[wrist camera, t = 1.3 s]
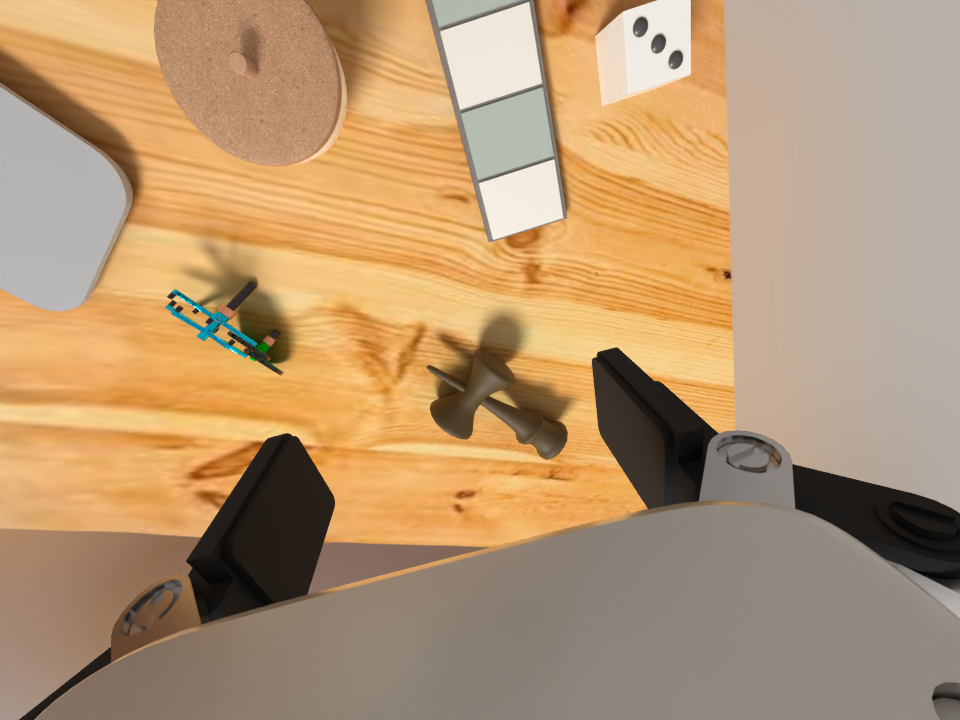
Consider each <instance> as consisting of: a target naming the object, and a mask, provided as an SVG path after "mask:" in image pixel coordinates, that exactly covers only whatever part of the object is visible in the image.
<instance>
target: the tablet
mask: <svg viewBox="0 0 960 720" xmlns="http://www.w3.org/2000/svg"><path fill="white" fill-rule="evenodd" d="M132 201H133V189H132V185H131V182H130V180H129V178H128V176H127V175H126V173H125V172H124V171H123V169H122V168H121V167H120V166H119V165H118V164H117V163H116V162H115V161H114V160H113V159H111V158H110V157H109V156H108V155H107V154H106V153H105V152H103V151H102V150H100V149H99V148H98V147H96V146H95V145H93V144H92V143H90V142H89V141H87V140H86V139H84V138H83V137H81V136H80V135H78V134H77V133H75V132H74V131H72V130H71V129H69V128H68V127H66V126H65V125H63V124H62V123H60V122H59V121H57V120H56V119H54V118H53V117H51V116H50V115H48V114H47V113H45V112H44V111H42V110H41V109H39V108H38V107H36V106H35V105H33V104H32V103H30V102H29V101H27V100H26V99H24V98H23V97H21V96H20V95H18V94H17V93H15V92H14V91H12V90H11V89H9V88H8V87H6V86H5V85H3V84H2V83H0V289H2V290H4V291H6V292H8V293H10V294H12V295H14V296H16V297H18V298H20V299H22V300H24V301H26V302H28V303H30V304H32V305H35V306H37V307H40V308H43V309H46V310H51V311H67V310H71V309H74V308H77V307H79V306H82V305H83V304H85V303H86V302H87V301H88V299H89V298H90V296H91V294H92V292H93V290H94V287H95V285H96V283H97V281H98V279H99V277H100V274H101V272H102V270H103V268H104V266H105V263H106V261H107V259H108V257H109V255H110V253H111V250H112V248H113V246H114V244H115V242H116V239H117V237H118V235H119V233H120V231H121V229H122V226H123V224H124V222H125V220H126V218H127V216H128V213H129V211H130V208H131V205H132Z"/></svg>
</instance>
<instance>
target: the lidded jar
mask: <svg viewBox="0 0 960 720" xmlns="http://www.w3.org/2000/svg"><path fill="white" fill-rule="evenodd" d="M154 35H155V44H156V51H157V55H158V60H159V64H160V67H161V70H162V73H163V75H164V78H165V81H166V83H167V85H168V87H169V89H170V91H171V93H172V95H173V97H174V99H175V101H176V102H177V104H178V105H179V107H180V108H181V110H182V111H183V113H184V114H185V115H186V117H187V118H188V119H189V120H190V121H191V122H192V124H193V125H194V126H195V127H196V128H197V129H198V130H199V131H200V132H201V133H202V134H203V135H204V136H205V137H206V138H207V139H209V140H210V141H211V142H213V143H214V144H215V145H217V146H218V147H219V148H221V149H222V150H224V151H226V152H227V153H229V154H231V155H233V156H235V157H237V158H240V159H242V160H244V161H247V162H251V163H255V164H259V165H266V166H288V165H295V164H301V163H304V162H308V161H311V160H313V159H315V158H317V157H319V156H321V155H322V154H323V153H325V152H326V151H327V150H328V149H329V148H330V147H331V146H332V145H333V144H334V143H335V141H336V139H337V138H338V136H339V134H340V132H341V130H342V127H343V125H344V121H345V117H346V112H347V86H346V81H345V76H344V72H343V69H342V66H341V63H340V60H339V57H338V54H337V52H336V50H335V48H334V46H333V43H332V41H331V39H330V38H329V36H328V34H327V32H326V30H325V28H324V26H323V24H322V23H321V21H320V19H319V18H318V16H317V15H316V13H315V11H314V10H313V9H312V7H311V6H310V5H309V4H308V2H307V1H306V0H158V3H157V8H156V13H155V26H154Z"/></svg>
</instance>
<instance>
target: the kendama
mask: <svg viewBox="0 0 960 720" xmlns="http://www.w3.org/2000/svg"><path fill="white" fill-rule="evenodd" d="M427 369H428V370H429V371H430V372H431V373H433V374H434V375H436V376H437V377H439V378H440V379H442V380H444V381H445V382H447V383H448V384H450V385H451V386H453V387H455V388H456V389H458V390H459V391H458V392H457V393H455V394H453V395H450V396H447V397H443V398H440V399H437V400H435V401H434V402H432V403H431V406H430V411H431V415H432V417H433V419H434V420H435V422H436V424H437V425H438V426H439V427H441V428H442V429H443V430H444V431H445V432H447V433H448V434H450V435H451V436H454V437H457V438H459V439H468V438H469V437H470V436H471V435H472V432H473V421H474V414H475V411H476V410H477V408H478V406H479V405H480V404H481V405H482V406H484V407H485V408H486V409H488V410H489V411H490V412H492V413H493V414H494V415H496V416H497V417H498V418H500V419H501V420H502V421H503V422H505V423H506V424H507V425H508V426H509V427H510V428H512V429H513V430H514V431H515V432H516V437H517V440H518V441H519V443H521V444H524V445H526V444H531V445H533V446H534V447H535V448H536V450H537V452H538V454H539V455H540V457H541V458H544V459H547V460H548V459H551V458H554V457H555V456H556V455H558V454H559V453H560V452H561V451H562V449H563V448H564V446H565V444H566V441H567V433H568V432H567V429H566V426H565V425H564V424H563V423H561V422H559V421H553V422H547V421H546V420H544V419H543V416H542V414H541V413H540V412H539V411H538V410H532V411H530V412H526V411H523V410H520V409H517V408H515V407H512V406H510V405H507V404H505V403H503V402H500V401H498V400H496V399H494V398H492V397H490V396H489V395H491V394H492V393H494V392H497V391H499V390H502V389H505V388H507V387H510V386H511V385H513V384H514V383H515V377H514V374H513V373H512V371H511V370H510V369H509V368H508V366H507V365H506V364H505V363H503V362H502V361H501V360H500V359H499V358H497V357H496V356H495V355H493V354H491V353H490V352H488V351H485V350H483V349H479V350H477V351H476V352H475V355H474V360H473V367H472V371H471V374H470V377H469V379H468V380H467V382H466V383H463V382H461V381H459V380H458V379H456V378H454V377H452V376H450V375H448V374H447V373H445V372H443V371H441V370H439V369H437V368H435V367H433V366H430V365H428V366H427Z"/></svg>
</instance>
